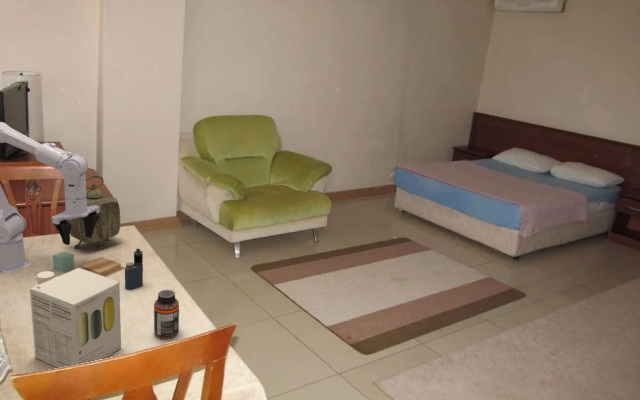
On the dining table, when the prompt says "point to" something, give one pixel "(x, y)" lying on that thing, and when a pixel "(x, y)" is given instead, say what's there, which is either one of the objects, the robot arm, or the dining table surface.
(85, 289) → the supplement box
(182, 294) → the dining table surface
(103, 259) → the top slab
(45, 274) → the pill bottle
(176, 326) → the supplement bottle
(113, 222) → the tabletop clock
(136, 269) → the vaping device
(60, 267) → the block
